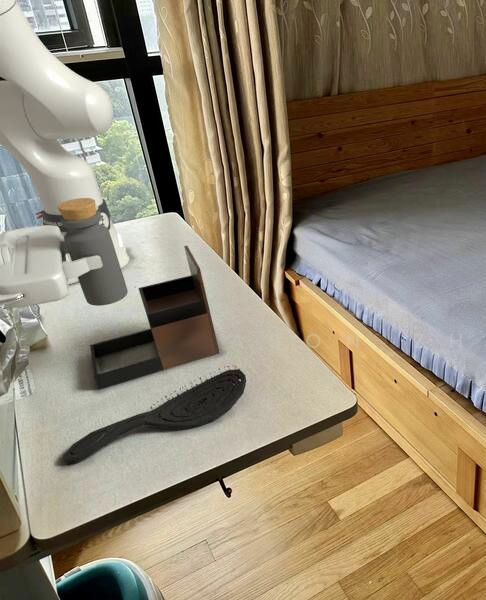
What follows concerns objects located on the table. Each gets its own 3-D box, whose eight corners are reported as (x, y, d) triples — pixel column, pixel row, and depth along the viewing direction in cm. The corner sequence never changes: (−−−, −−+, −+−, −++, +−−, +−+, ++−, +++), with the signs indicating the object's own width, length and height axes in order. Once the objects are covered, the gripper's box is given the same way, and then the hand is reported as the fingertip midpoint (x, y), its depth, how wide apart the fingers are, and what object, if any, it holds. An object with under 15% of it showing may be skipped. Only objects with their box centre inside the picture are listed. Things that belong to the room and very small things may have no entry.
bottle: (112, 307, 80) (80, 212, 73) (77, 304, 81) (42, 209, 74) (136, 288, 85) (108, 197, 78) (103, 285, 86) (72, 195, 79)
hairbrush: (52, 428, 72) (232, 354, 84) (63, 448, 74) (237, 372, 86) (60, 467, 66) (253, 381, 78) (72, 487, 68) (258, 401, 80)
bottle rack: (98, 389, 84) (64, 300, 76) (94, 357, 91) (62, 272, 83) (219, 353, 91) (199, 268, 83) (206, 325, 99) (187, 245, 91)
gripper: (-30, 284, 65) (98, 257, 70) (-16, 227, 80) (88, 209, 86) (-9, 328, 68) (112, 299, 74) (1, 265, 83) (100, 245, 89)
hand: (99, 250), depth 80 cm, fingers closed on bottle, 6 cm apart
